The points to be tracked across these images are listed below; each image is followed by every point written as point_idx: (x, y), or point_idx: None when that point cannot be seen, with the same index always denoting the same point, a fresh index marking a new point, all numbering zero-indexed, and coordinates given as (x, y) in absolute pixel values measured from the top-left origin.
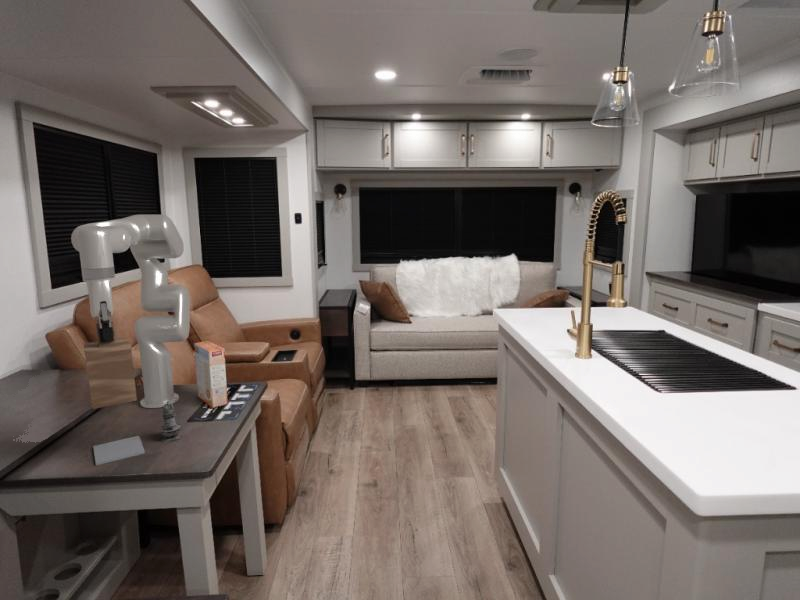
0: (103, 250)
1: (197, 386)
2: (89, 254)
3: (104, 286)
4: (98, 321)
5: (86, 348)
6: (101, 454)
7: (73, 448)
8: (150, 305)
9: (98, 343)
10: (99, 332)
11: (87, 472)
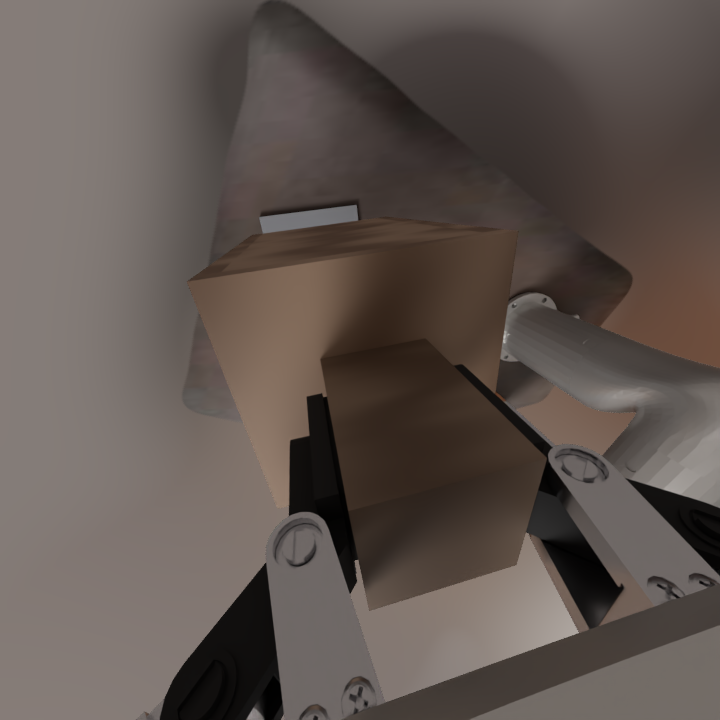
0: None
1: (506, 401)
2: None
3: None
4: (565, 491)
5: (329, 273)
6: (302, 226)
7: (376, 156)
8: None
9: (358, 363)
10: (312, 462)
11: (230, 200)
